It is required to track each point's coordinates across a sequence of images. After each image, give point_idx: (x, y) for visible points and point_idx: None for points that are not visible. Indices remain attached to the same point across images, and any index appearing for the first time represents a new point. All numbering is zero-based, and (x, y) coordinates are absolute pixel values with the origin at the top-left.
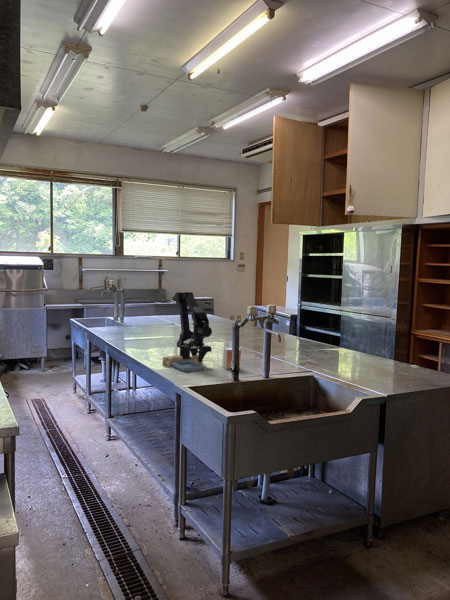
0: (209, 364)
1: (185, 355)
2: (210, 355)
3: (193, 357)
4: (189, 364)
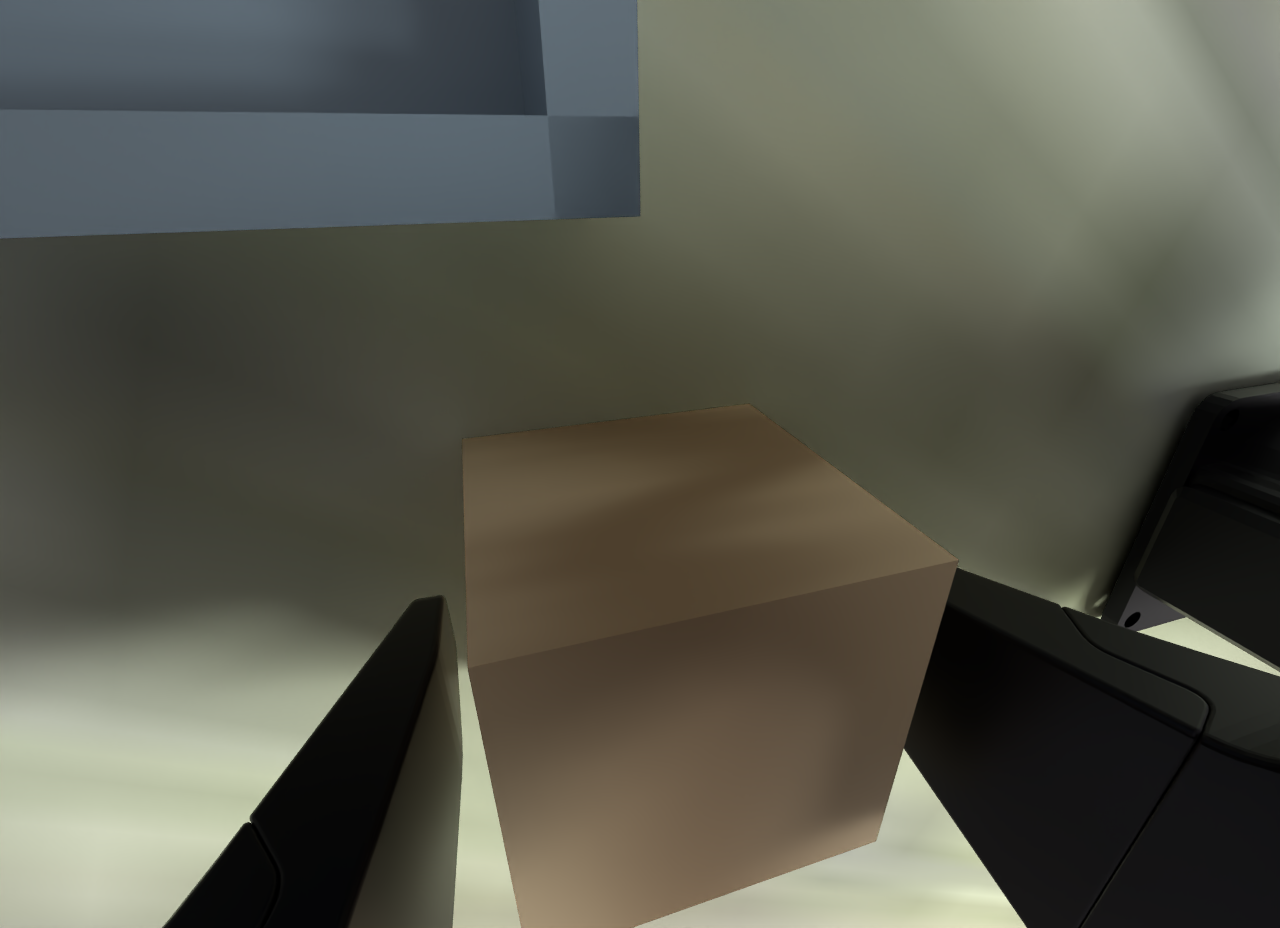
0: None
1: (1265, 508)
2: (1005, 897)
3: (737, 545)
4: (358, 60)
